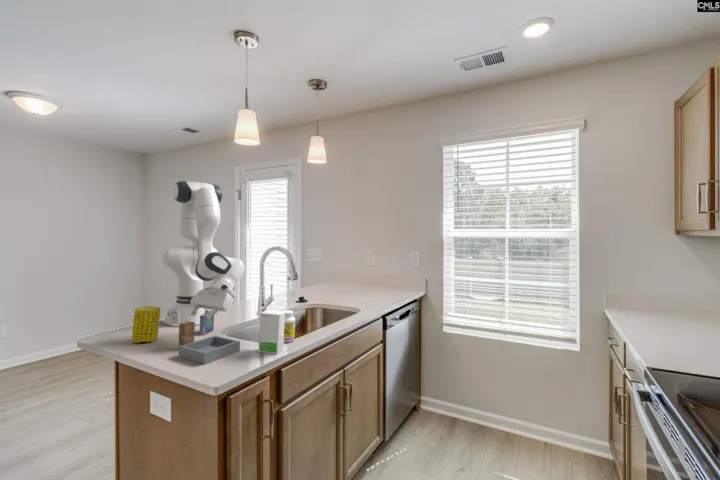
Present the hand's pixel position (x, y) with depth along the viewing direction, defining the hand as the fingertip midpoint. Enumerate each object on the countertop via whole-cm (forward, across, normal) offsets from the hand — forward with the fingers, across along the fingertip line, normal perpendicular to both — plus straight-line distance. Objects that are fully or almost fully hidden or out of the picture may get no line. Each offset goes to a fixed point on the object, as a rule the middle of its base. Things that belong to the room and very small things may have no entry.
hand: (199, 316), depth 140 cm
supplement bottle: (-8, +28, +24) cm, 38 cm away
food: (+14, -22, +2) cm, 27 cm away
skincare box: (+2, +31, +15) cm, 34 cm away
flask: (-1, -11, +17) cm, 20 cm away
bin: (+12, +14, +4) cm, 19 cm away
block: (+12, 0, +4) cm, 13 cm away
